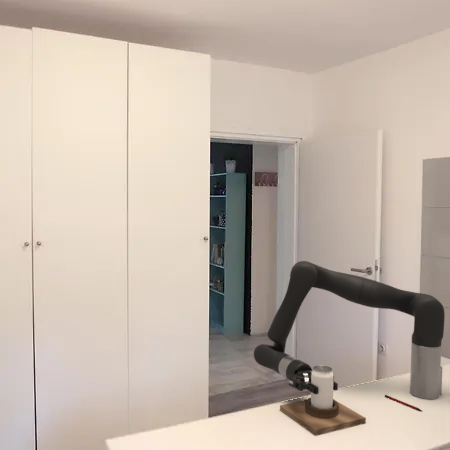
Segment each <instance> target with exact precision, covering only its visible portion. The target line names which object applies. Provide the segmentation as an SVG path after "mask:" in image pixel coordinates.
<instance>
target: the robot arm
mask: <svg viewBox="0 0 450 450" xmlns="http://www.w3.org/2000/svg"><path fill="white" fill-rule="evenodd" d="M312 288H314V289H320V290H323V291H327V292H330V293H332V294H334V295H336V296H338V297H340V298H342V299H344V300H346V301H349V302H351V303H354V304H357V305H361V306H364V307H369V308H372V309H373V308H374V309H384V310H386V309H387V310H392V311H397V312H401V313H404V314H407V315H409V316H411V317H413V318H414V319H413V320H414V321H413V332H412V334H411V349H410V350H411V355H410V377H409V378H410V380H409V383H410V384H409V393H410V395H412V396H414V397H417V398H419V399H424V400H436V399H438V398H439V397H440V396H442V393H443V392H442V387H443V386H442V385H443V366H441V362H442V358H441V357H442V340H443V337H444V334H445V333H444V331H445V318H446V317H445V316H446V315H445V313H446V312H445V308H444V306H443V304H442V303H441V301H439V300H438V299H437V298H436V297H434V296H433V295H430V294H427V293H421V292H414V291H409V290H405V289H400V288H397V287H394V286H391V285H389V284H385V283H383V282H380V281H376V280H375V279H374V280H373V279H370V278H367V277H363V276H359V275H354V274H351V273H350V274H349V273H346V272H341V271H335V270H331V269H328V268H327V267H322V266H321V265H318V264H315V263H312V262H310V261H307V260H300V261H298V262H296V263H294V265H293V266H292V267H291V270H290V273H289V280H288V286H287V290H286V293H285V295H284V297H283V299H282V302H281V304H280V306H279V308H278V310H277V312H276V313H275V315H274V317H273V320H272V322H271V324H270V327H269V329H268V331H267V334H266V336H267V337H268V339H269V340H270V341H272V342H273V345H269V344H265V343H264V344H263V343H261V344H259V345H257V346H256V347H255V348H254V350H253V359H254V360H255V362H256V363H257V364H258V365H260V366H262V367H264V368H267V369H270V370H273V371H274V372H276V373H277V374H279V375H281V376H282V377H283V378H284V379H285V380H287V381H288V385H289V386H290V387H292V388H294V389H296V390H298V391H299V392H303V391H307V392H310V393H311V392H312V393H314V394H318V387H317V386H315V385H313V384H312V383H311V374H312V371H313V367H311V366H310V365H309V364H308V363H306V362H305V361H303V360H301V359H299V358H297V357H295V356H291V355H290V354H287V353H286V352H285V351H286V346H287V339H288V337H289V336H290V333H291V331H292V328H293V326H294V323H295V321H296V319H297V316H298V313H299V310H300V309H301V306H302V304H303V302H304V300H305V299H306V297H307V295H308V294H309V292H310V291H311V290H312ZM338 385H339V384H338V383H337V382H336V381H335V375H333V391H338V387H339V386H338Z"/></svg>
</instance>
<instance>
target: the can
mask: <svg viewBox="0 0 450 450" xmlns="http://www.w3.org/2000/svg"><path fill="white" fill-rule="evenodd" d="M312 370H313V371H312V374H311V383H312V384H313V385H315V386H317V387H318V394H314V393H312V392H310V398H311V406H313V407H316V408H320V409H328V408H332V407H333V399H334V390H333V376H334V372H333V368H332V367H331V366H328V365H321V364H319V365H315V366H313V367H312Z"/></svg>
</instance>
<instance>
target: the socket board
mask: <svg viewBox="0 0 450 450" xmlns="http://www.w3.org/2000/svg"><path fill="white" fill-rule="evenodd" d="M279 410H280V411H281V412H282V413H283V414H285V415H286V416H287V417H289V418H291V420H293V421H294V422H296V423H298V424H299V425H300V426H301V427H302V428H304V429H306V430H307V431H308V432H309V433H311V434H312V435H314V436H319V435H323V434H326V433H327V434H328V433H331V432H334V431H335V432H336V431H338V430H342V429H343V430H344V429H347V428H352V427H354V426H355V427H356V426H359V425H362V424H366V420H367V418H366V417H365V416H363V415H362V414H360V413H358V412H357V411H354V410H353V409H351V408H349V407H348V406H346V405H345V404H342V403H341V402H339V401H337V400H336V399H334V398H333V407H332V408H328V409H320V408H316V407H313V406H311V397H309V398H306V399H304V400H303V399H302V400H298V401H294V402H290V403H285V404H280V405H279Z"/></svg>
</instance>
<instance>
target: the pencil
mask: <svg viewBox="0 0 450 450" xmlns="http://www.w3.org/2000/svg"><path fill="white" fill-rule="evenodd" d="M384 398H386V399H388V398H389V400H391V401H393V402H395V401H396V403H398V404H400V405H402V406H405V407H409V408H410V409H413V410H415V411H418V412H423V410H421V409H420V408H419V407H417V406H414V405H411V404H410V403H407V402H405V401H403V400H400V399H397V398H395V397H392V396H391V395H387V394H384Z"/></svg>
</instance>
